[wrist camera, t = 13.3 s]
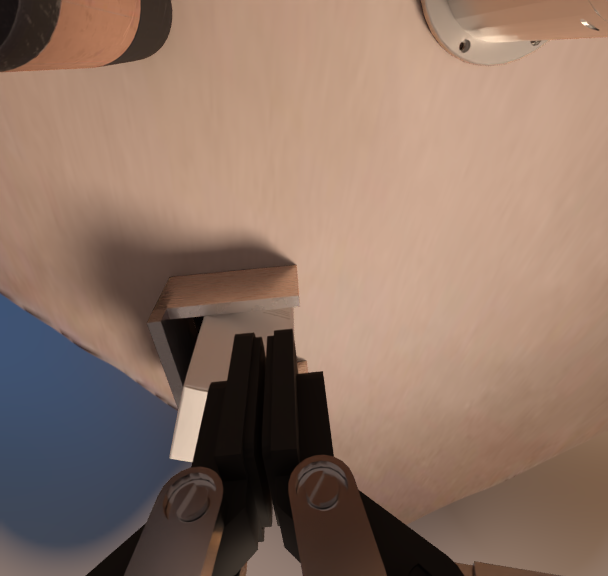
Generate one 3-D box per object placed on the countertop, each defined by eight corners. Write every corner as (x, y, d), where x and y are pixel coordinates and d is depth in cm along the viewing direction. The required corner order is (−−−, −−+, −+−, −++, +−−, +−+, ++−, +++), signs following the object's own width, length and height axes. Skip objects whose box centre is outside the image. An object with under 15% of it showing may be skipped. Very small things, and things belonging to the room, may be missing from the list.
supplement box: (212, 280, 41) (181, 384, 28) (295, 299, 43) (300, 405, 30) (198, 345, 45) (165, 461, 32) (273, 360, 47) (270, 476, 34)
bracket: (296, 264, 40) (299, 308, 33) (307, 368, 48) (311, 421, 41) (169, 277, 40) (146, 322, 34) (200, 378, 48) (186, 433, 41)
